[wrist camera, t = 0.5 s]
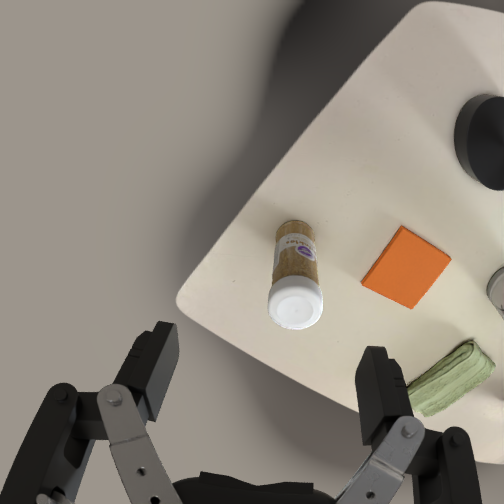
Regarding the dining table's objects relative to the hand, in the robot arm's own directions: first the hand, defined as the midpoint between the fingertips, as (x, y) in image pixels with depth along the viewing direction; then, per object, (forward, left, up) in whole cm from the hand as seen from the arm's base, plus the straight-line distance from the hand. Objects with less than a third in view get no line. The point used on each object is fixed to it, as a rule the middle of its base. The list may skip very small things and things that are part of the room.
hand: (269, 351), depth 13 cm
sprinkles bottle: (+5, +4, -25) cm, 26 cm away
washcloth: (+16, +43, -25) cm, 52 cm away
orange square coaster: (+2, +19, -24) cm, 31 cm away
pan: (-18, +23, -24) cm, 38 cm away
